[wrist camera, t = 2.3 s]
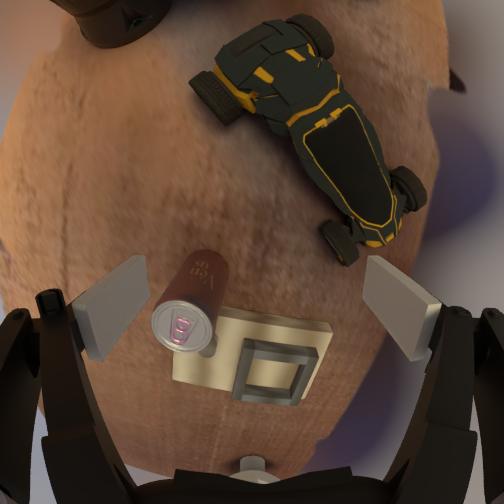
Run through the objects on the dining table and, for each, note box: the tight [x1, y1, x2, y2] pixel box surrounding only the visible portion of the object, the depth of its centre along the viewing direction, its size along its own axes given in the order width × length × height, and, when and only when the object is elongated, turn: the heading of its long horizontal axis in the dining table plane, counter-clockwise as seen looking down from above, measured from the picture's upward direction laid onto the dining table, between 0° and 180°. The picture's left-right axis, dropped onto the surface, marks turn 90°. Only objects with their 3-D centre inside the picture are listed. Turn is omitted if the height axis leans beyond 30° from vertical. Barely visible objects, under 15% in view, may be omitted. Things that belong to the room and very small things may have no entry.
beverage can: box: [151, 250, 228, 353], centre depth 30 cm, size 6×6×15 cm
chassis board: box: [173, 305, 333, 406], centre depth 38 cm, size 22×14×6 cm, turn 79°
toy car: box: [189, 14, 427, 267], centre depth 27 cm, size 16×32×10 cm, turn 38°
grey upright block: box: [229, 456, 280, 484], centre depth 42 cm, size 9×9×20 cm
